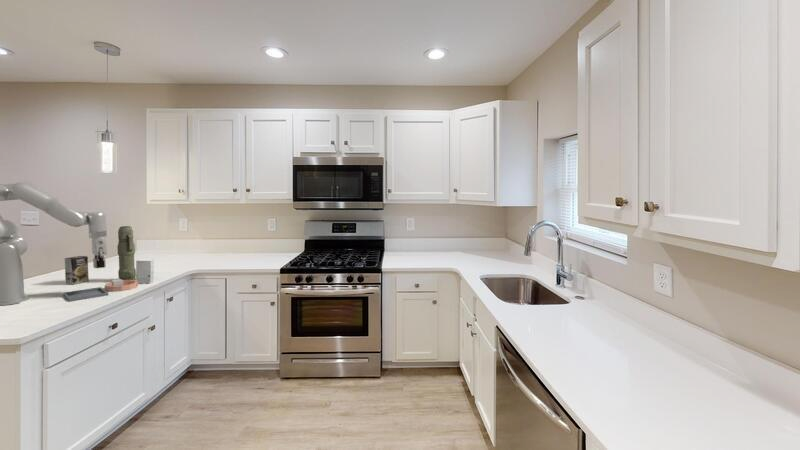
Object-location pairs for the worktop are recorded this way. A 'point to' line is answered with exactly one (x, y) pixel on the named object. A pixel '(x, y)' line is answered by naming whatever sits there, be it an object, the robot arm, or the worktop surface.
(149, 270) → the skincare box
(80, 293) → the tray
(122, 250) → the thermos
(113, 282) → the pebble
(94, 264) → the pebble
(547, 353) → the worktop surface
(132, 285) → the bowl
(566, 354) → the worktop surface
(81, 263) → the coffee box
